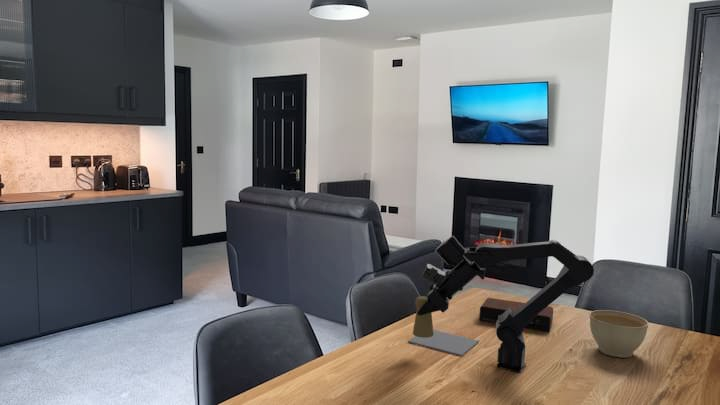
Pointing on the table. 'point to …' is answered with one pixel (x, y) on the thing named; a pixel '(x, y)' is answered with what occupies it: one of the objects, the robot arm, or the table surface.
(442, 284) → the robot arm
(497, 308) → the dark brown rectangular block
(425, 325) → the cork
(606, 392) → the table surface
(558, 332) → the table surface
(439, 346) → the mat
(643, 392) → the table surface
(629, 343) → the planter bowl
